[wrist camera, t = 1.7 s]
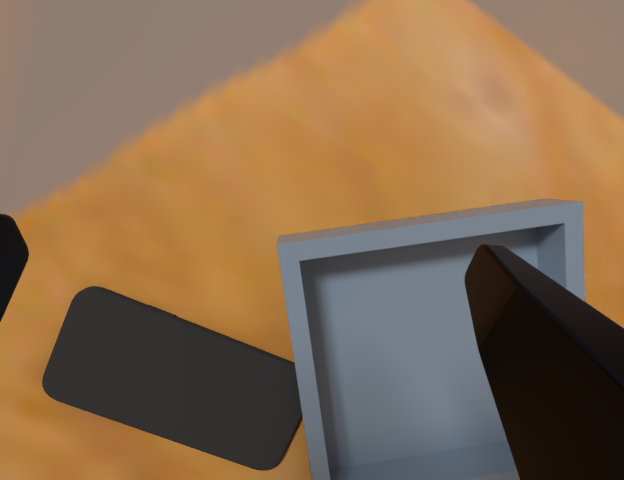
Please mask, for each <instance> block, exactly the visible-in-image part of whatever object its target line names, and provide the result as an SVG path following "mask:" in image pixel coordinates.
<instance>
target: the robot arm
mask: <svg viewBox="0 0 624 480" xmlns="http://www.w3.org/2000/svg"><path fill="white" fill-rule="evenodd" d="M28 256H29V251H28V247H27V245H26V243H25V241H24V239H23V237H22V235H21V233H20V231H19V229H18V227H17V225H16V223H15V221H14V219H13V218H12V217H10V216H9V215H6V214H0V321H1V319H2V317H3V315H4V313H5V310H6V308H7V306H8V304H9V301H10V299H11V297H12V295H13V292H14V290H15V288H16V286H17V283H18V281H19V279H20V277H21V274H22V272H23V270H24V268H25V265H26V263H27V261H28ZM464 282H465V288H466V293H467V298H468V303H469V308H470V313H471V318H472V323H473V328H474V333H475V338H476V342H477V347H478V351H479V354H480V357H481V361H482V364H483V367H484V370H485V373H486V376H487V379H488V382H489V385H490V389H491V392H492V395H493V398H494V401H495V404H496V407H497V410H498V413H499V416H500V419H501V423H502V426H503V429H504V432H505V435H506V438H507V441H508V444H509V447H510V450H511V453H512V457H513V460H514V463H515V466H516V469H517V472H518V475H519V478H520V480H624V328H622V327H621V326H619V325H618V324H616V323H615V322H614V321H612V320H611V319H609V318H608V317H606V316H605V315H603V314H602V313H601V312H599V311H598V310H596V309H595V308H593V307H592V306H590V305H589V304H587V303H586V302H585V301H583V300H582V299H580V298H579V297H577V296H576V295H574V294H573V293H571V292H570V291H569V290H567V289H566V288H564V287H563V286H561V285H560V284H558V283H557V282H556V281H554V280H553V279H551V278H550V277H548V276H547V275H545V274H544V273H542V272H541V271H540V270H538V269H537V268H535V267H534V266H532V265H531V264H529V263H528V262H527V261H525V260H524V259H522V258H521V257H519V256H518V255H516V254H515V253H513V252H512V251H511V250H509V249H508V248H506V247H505V246H503V245H500V244H486V243H484V244H481V245H479V246H478V248H477V249H476V251H475V253H474V255H473V258H472V260H471V262H470V264H469V266H468V268H467V270H466V273H465V279H464Z"/></svg>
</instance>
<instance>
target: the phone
mask: <svg viewBox="0 0 624 480" xmlns="http://www.w3.org/2000/svg"><path fill="white" fill-rule="evenodd" d="M42 384H43V388H44V391H45V392H46V393H47V394H48V395H49V396H50V397H51V398H53V399H55V400H57V401H59V402H62V403H65V404H68V405H71V406H73V407H76V408H79V409H82V410H85V411H88V412H91V413H94V414H97V415H99V416H102V417H105V418H108V419H111V420H114V421H117V422H120V423H123V424H125V425H128V426H131V427H134V428H137V429H140V430H143V431H146V432H148V433H151V434H154V435H157V436H160V437H163V438H166V439H169V440H172V441H174V442H177V443H180V444H183V445H186V446H189V447H192V448H195V449H198V450H200V451H203V452H206V453H209V454H212V455H215V456H218V457H221V458H224V459H226V460H229V461H232V462H235V463H238V464H241V465H244V466H247V467H250V468H253V469H256V470H269V469H272V468H273V467H275V466H276V465H277V464H278V463H279V461H280V460H281V458H282V456H283V454H284V452H285V450H286V448H287V445H288V443H289V441H290V439H291V437H292V435H293V433H294V431H295V429H296V427H297V424H298V422H299V420H300V418H301V416H302V409H301V402H300V395H299V389H298V382H297V375H296V369H295V363H294V362H291V361H289V360H286V359H283V358H281V357H278V356H276V355H273V354H271V353H268V352H266V351H263V350H261V349H258V348H256V347H253V346H250V345H248V344H245V343H243V342H240V341H238V340H235V339H233V338H230V337H228V336H225V335H223V334H220V333H217V332H215V331H212V330H210V329H207V328H205V327H202V326H200V325H197V324H195V323H192V322H190V321H187V320H184V319H182V318H179V317H177V316H176V315H174V314H171V313H168V312H166V311H163V310H161V309H158V308H156V307H153V306H150V305H146V304H144V303H141V302H139V301H136V300H134V299H131V298H129V297H126V296H124V295H121V294H118V293H116V292H113V291H111V290H108V289H105V288H102V287H97V286H92V287H88V288H85V289H83V290H82V291H80V292H79V293H77V294H76V295H75V297H74V298H73V300H72V302H71V304H70V307H69V309H68V312H67V315H66V317H65V320H64V322H63V325H62V328H61V330H60V333H59V335H58V338H57V341H56V343H55V346H54V349H53V351H52V354H51V356H50V359H49V362H48V364H47V367H46V370H45V373H44V375H43V380H42Z"/></svg>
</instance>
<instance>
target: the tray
mask: <svg viewBox="0 0 624 480" xmlns="http://www.w3.org/2000/svg"><path fill="white" fill-rule="evenodd" d="M484 243H486V244H500V245H503V246H505V247H506V248H508V249H509V250H511V251H512V252H513V253H515V254H516V255H518V256H519V257H521V258H522V259H524V260H525V261H527V262H528V263H529V264H531V265H532V266H534V267H535V268H537V269H538V270H540V271H541V272H542V273H544V274H545V275H547V276H548V277H550V278H551V279H553V280H554V281H556V282H557V283H558V284H560V285H561V286H563V287H564V288H566V289H567V290H569V291H570V292H571V293H573V294H574V295H576V296H577V297H579V298H580V299H582V300H583V301H585V284H584V242H583V201H569V200H555V199H540V200H533V201H526V202H519V203H512V204H505V205H497V206H490V207H483V208H476V209H469V210H462V211H455V212H448V213H440V214H433V215H426V216H419V217H412V218H405V219H398V220H391V221H383V222H376V223H369V224H362V225H355V226H348V227H341V228H333V229H326V230H319V231H312V232H305V233H298V234H291V235H284V236H278V241H277V249H278V255H279V262H280V269H281V275H282V282H283V289H284V295H285V302H286V309H287V315H288V322H289V329H290V335H291V342H292V349H293V355H294V362H295V369H296V375H297V382H298V389H299V395H300V402H301V409H302V415H303V422H304V429H305V435H306V442H307V449H308V455H309V462H310V469H311V475H312V480H520V478H519V475H518V472H517V469H516V466H515V463H514V460H513V457H512V453H511V450H510V447H509V444H508V441H507V438H506V435H505V432H504V429H503V426H502V423H501V419H500V416H499V413H498V410H497V407H496V404H495V401H494V398H493V395H492V392H491V389H490V385H489V382H488V379H487V376H486V373H485V370H484V367H483V364H482V361H481V357H480V354H479V351H478V347H477V342H476V338H475V333H474V328H473V323H472V318H471V313H470V308H469V303H468V298H467V293H466V288H465V282H464V279H465V273H466V270H467V268H468V266H469V264H470V262H471V260H472V258H473V255H474V253H475V251H476V249H477V248H478V246H479V245H481V244H484Z"/></svg>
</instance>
